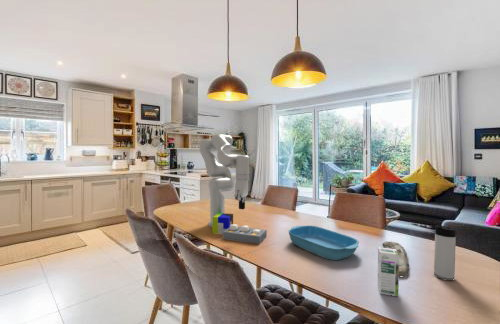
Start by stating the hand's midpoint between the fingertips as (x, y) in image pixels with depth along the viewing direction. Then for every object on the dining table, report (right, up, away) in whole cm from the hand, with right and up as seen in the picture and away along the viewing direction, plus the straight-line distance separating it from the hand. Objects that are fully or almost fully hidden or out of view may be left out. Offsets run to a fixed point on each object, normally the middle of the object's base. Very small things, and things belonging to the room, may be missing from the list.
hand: (241, 208), depth 140 cm
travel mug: (+80, -18, -45) cm, 94 cm away
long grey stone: (+70, -18, -29) cm, 78 cm away
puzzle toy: (-12, -16, +11) cm, 23 cm away
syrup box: (+53, -19, -55) cm, 78 cm away
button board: (+2, -16, -1) cm, 17 cm away
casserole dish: (+41, -18, -16) cm, 47 cm away
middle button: (+2, -13, -1) cm, 14 cm away
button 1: (-5, -13, +2) cm, 14 cm away
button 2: (+8, -15, -3) cm, 17 cm away
